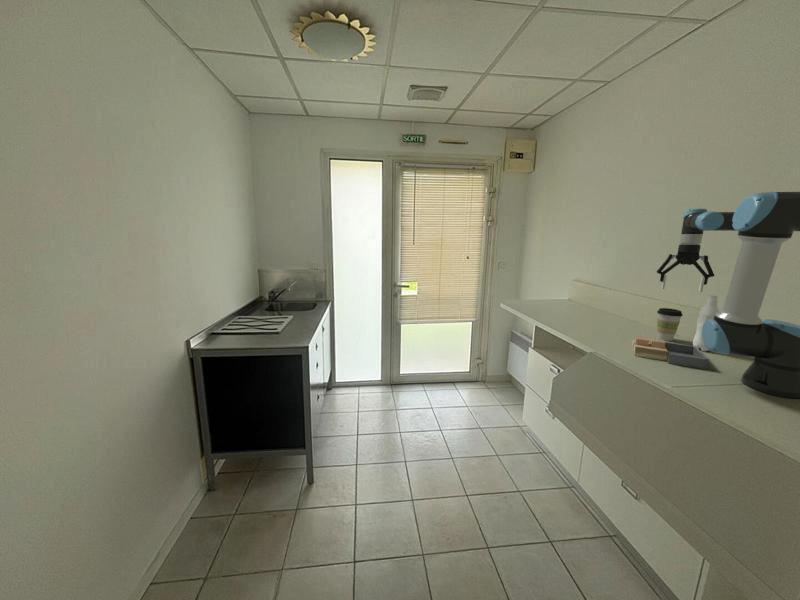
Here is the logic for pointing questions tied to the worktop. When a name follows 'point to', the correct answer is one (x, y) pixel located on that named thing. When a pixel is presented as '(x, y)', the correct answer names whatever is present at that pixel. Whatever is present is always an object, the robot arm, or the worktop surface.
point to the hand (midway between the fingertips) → (681, 290)
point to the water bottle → (704, 315)
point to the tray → (686, 355)
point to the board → (649, 351)
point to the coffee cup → (667, 323)
